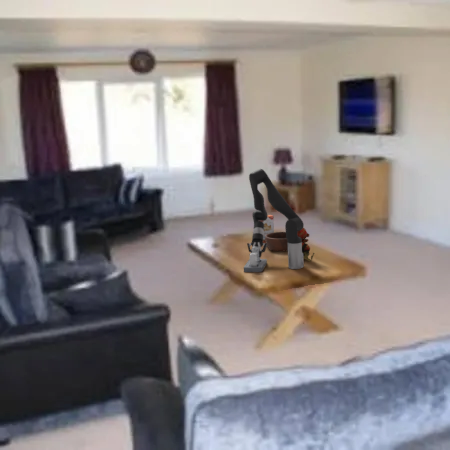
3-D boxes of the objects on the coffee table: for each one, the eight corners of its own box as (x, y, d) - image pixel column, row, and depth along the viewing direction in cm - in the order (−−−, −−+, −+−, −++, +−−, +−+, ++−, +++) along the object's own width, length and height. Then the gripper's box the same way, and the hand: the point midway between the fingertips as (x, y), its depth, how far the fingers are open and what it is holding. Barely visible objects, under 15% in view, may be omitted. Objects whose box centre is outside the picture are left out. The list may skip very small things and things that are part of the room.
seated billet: (251, 268, 445) (250, 252, 443) (258, 268, 444) (257, 252, 442) (250, 270, 441) (249, 254, 439) (256, 270, 440) (256, 254, 438)
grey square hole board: (249, 263, 460) (249, 259, 459) (266, 263, 457) (266, 259, 457) (243, 271, 439) (243, 267, 438) (261, 271, 436) (261, 267, 436)
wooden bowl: (299, 244, 508) (298, 231, 506) (299, 252, 483) (298, 238, 481) (266, 245, 510) (265, 232, 508) (264, 253, 486) (264, 239, 484)
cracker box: (257, 244, 515) (256, 217, 511) (255, 242, 521) (254, 216, 517) (274, 242, 519) (273, 215, 515) (272, 240, 525) (271, 214, 521)
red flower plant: (320, 258, 456) (311, 224, 449) (297, 266, 454) (288, 233, 447) (312, 252, 471) (303, 219, 464) (290, 260, 468) (281, 227, 461)
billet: (253, 261, 456) (253, 246, 453) (260, 261, 455) (259, 246, 452) (252, 263, 451) (252, 247, 449) (259, 263, 450) (258, 247, 448)
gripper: (246, 232, 458) (244, 254, 449) (267, 232, 455) (265, 254, 446) (248, 238, 464) (246, 259, 455) (268, 238, 461) (267, 259, 452)
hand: (255, 256), depth 450 cm, fingers closed on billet, 4 cm apart
